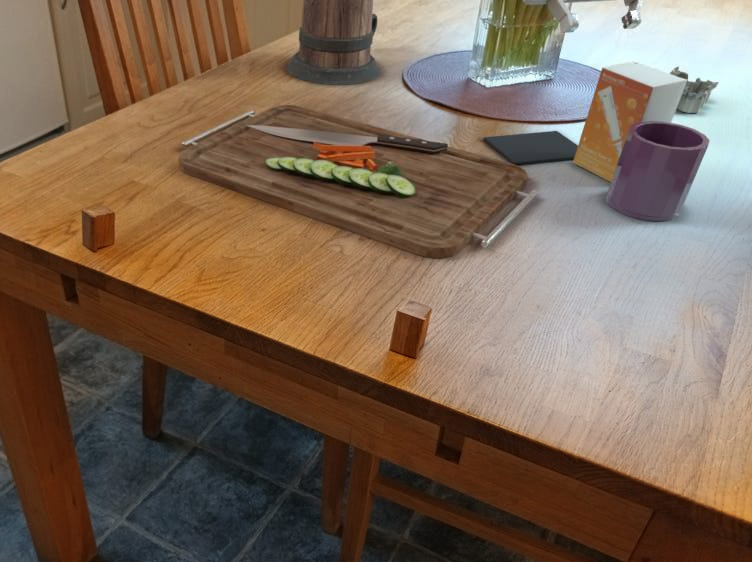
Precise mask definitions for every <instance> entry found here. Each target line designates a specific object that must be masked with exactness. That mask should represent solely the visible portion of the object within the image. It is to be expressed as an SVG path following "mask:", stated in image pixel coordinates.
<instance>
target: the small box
mask: <svg viewBox="0 0 752 562" xmlns="http://www.w3.org/2000/svg"><path fill="white" fill-rule="evenodd" d="M686 83H687V80H686V79H683V78H680V77H677V76H674V75H671V74H670V72H667V71H664V70H662V69H659V68H655V67H651V66H649V65H647V64H644V63H640V62H638V61H629V62H623V63H618V64H612V65H607V66H604V67H601V71H600V74H599V77H598V81H597V83H596V86H595V90H594V93H593V96H592V99H591V103H590V106H589V110H588V112H587V116H586V119H585V122H584V125H583V128H582V132H581V134H580V138H579V142H578V144H577V145H578V148H577V151H576V154H575V157H574V159H572V160H573V162H572V164H574V165H576V166H578V167H580V168H583V169H584V170H586V171H588V172H591V173H592V174H594V175H596V176H598V177H599V178H601V179H603V180H605V181H607V182H609V183H611V181H612V178H613V175H614V172H615V169H616V166H617V164H618V161H619V158H620V155H621V152H622V149H623V146H624V143H625V140H626V137H627V134H628V131H629V129H630V127H631V125H633V124H635V123H638V122H645V121H661V122H669V123H672V122H673V119H674V116H675V113H676V112H677V109H676V108H677V106H678V103H679V100H680V98H681V95H682V93H683V90H684V88H685V85H686Z"/></svg>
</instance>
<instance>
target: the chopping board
mask: <svg viewBox="0 0 752 562" xmlns="http://www.w3.org/2000/svg"><path fill="white" fill-rule="evenodd" d="M181 147H182V148H183V149H184V150H183V151H181V152H180V153H179V155H178V167H179V169H180V171H181V172H183V173H184V174H187V175H188V176H192V177H194V178H198V179H201V180H204V181H207V182H209V183H211V184H215V185H216V186H217V185H218V186H220V187H223V188H226V189H230V190H232V191H235V192H237V193H240V194H243V195H246V196H249V197H252V198H255V199H257V200H260V201H263V202H266V203H269V204H272V205H274V206H276V207H277V206H278V207H281V208H284V209H286V210H289V211H291V212H294V213H298V214H300V215H303V216H306V217H308V218H311V219H315V220H317V221H320V222H323V223H326V224H329V225H331V226H335V227H338V228H340V229H343V230H346V231H349V232H352V233H353V234H354V233H355V234H357V235H360V236H364V237H366V238H369V239H372V240H375V241H378V242H380V243H382V244H386V245H389V246H392V247H393V248H397V249H400V250H403V251H406V252H409V253H411V254H414V255H417V256H420V257H425V258H430V259H444V258H450V257H453V256H455V255H458V254H459V253H460V252H461V251H462V250H463V249H464V248H466V246H467V245H468V244H469V243H470V242H471V241H472V240H473V239H478V240H481V242H480V246H481V247H482V248H488V246H489V245H490V244H491V243H492V242H493V241H494V240H495V239H496V238H497V237H498V236H499V235H500V234H501V233H502V231H504V229H505V228H506V227H507V226H509V224H510V223H511V222H512V221H513V220H514V219H515V218H517V216H518V215H519V214H520V213H521V212H522V211H523V210H524V209H525V208H526V207H527V205H529V204H530V202H531V201H533V199H534V198H535V197H537V196H538V191H537V190H535V189H532V190H531V191H529V193H526V192H524V191H523V190H524V189H525V186H526V183H527V181H528V180H527V179H528V176H529V174H528V172H527V171H526V169H524V168H523V167H521V166H520V165H514V164H512V163H511V162H508V161H504V160H500V159H498V158H493V157H490V156H486V155H482V154H478V153H474V152H470V151H466V150H463V149H459V148H456V147H452V146H449V144H448V143H447V142H439V141H430V140H427V139H422V138H420V137H415V136H412V135H409V134H405V133H401V132H398V131H393V130H389V129H386V128H382V127H378V126H375V125H371V124H368V123H364V122H361V121H357V120H354V119H353V120H352V119H349V118H346V117H342V116H338V115H334V114H331V113H327V112H323V111H319V110H316V109H313V108H309V107H304V106H301V105H295V104H281V105H276V106H273V107H271V108H268V109H266V110H264V111H262V112H260V113H258V114H255V110H253V109H250V110H248V111H245V112H244V113H242V114H240V115H237V116H236V117H233V118H231V119H229V120H227V121H225V122H223V123H221V124H219V125H217V126H214V127H213V128H210V129H208V130H206V131H204V132H202V133H200V134H198V135H195V136H194V137H193V136H192V138H189V139H187V140H185V141H183V142H181ZM517 196H519V197H521V198H522V199H521V201H520V202H519V203H518V204H517V205H516V206H514V208H513V209H512V210H511V211H510V212H509V213H508V214H507V215H506V216H505V217H504V218H503V219H502V220H501V221H500V222H499V223H498V224H497V225H496V226H495V227H494V228H493V229H492V230H491V231H490V232H489V233H488V234H487V235H483V234H480V232H481V231H483V229H484V228H486V226H487V225H488V224H489V223H491V221H493V219H494V218H495V217H496V216H498V214H500V212H502V210H504V208H506V206H507V205H508V204H510V203H511V202H512V200H513V199H514V198H516V197H517Z"/></svg>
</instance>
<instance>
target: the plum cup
mask: <svg viewBox="0 0 752 562" xmlns="http://www.w3.org/2000/svg"><path fill="white" fill-rule="evenodd" d="M709 144H710V139H709V138H708V136H706V134H704V133H703V132H701V131H699V130H697V129H695V128H692V127H688V126H687V125H684V124H679V123H674V122H671V123H669V122H661V121H645V122H638V123H635V124H633V125H631V127H630V129H629V131H628V134H627V137H626V140H625V143H624V146H623V149H622V152H621V155H620V158H619V161H618V164H617V166H616V169H615V172H614V175H613V178H612V181H611V182H610V184H609V187H608V191H607V193H606V197H605V199H606V203H607V204H608V206H610V207H611V208H612V210H615V211H617V212H619V213H621V214H622V215H625V216H628V217H630V218H634V219H638V220H643V221H649V222H665V221H671V220H673V219H675V218H677V217H678V216H680V213H681V211H682V209H683V207H684V205H685V202H686V200H687V197H688V195H689V192H690V190H691V188H692V186H693V183H694V181H695V179H696V176H697V174H698V172H699V169H700V166H701V165H702V162H703V159H704V157H705V155H706V152H707V150H708V147H709Z"/></svg>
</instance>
